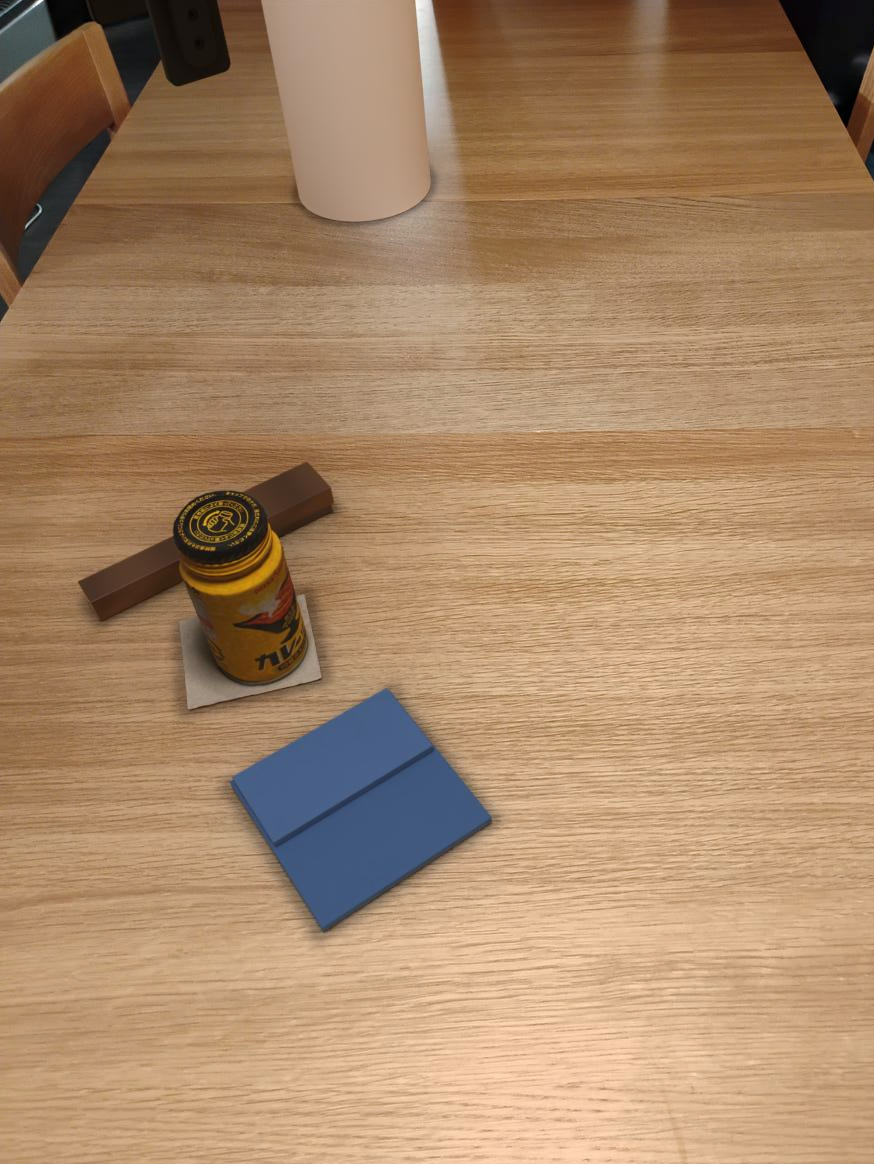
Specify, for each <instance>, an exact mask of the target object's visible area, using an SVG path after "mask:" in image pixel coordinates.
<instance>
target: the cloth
mask: <svg viewBox="0 0 874 1164" xmlns="http://www.w3.org/2000/svg"><path fill="white" fill-rule="evenodd" d="M231 779H232V780H230V781H229V784H230V786H231V788H232V789H233V791H234V792H235V794H236V796H237V798H238V799H239V800H240V802H241V803H242V806H243V807H244V809H245V810H246V812H247V813H248V815H249V817H250V818H251V819H252V821H253V822H254V825H255V826H256V827H257V829H258V830H259V832H260V834H261V835H262V837H263V838H264V840H265V842H266V843H267V845H268V846H269V848H270V850H271V851H272V853H273V855H274V856H275V858H276V859H277V861H278V863H279V864H280V865H281V868H282V869H283V870H284V872H285V873H286V875H287V876H288V879H289V880H290V882H291V883H292V885H293V887H294V888H295V890H296V891H297V893H298V895H300V897H301V899H302V901H303V902H304V904H305V905H306V907H307V909H308V910H309V912H310V913H311V915H312V916H313V918H314V920H315V921H316V923H317V924H318V926H319V927H320V929H321V931H322V932H326V931H328V930H329V929H331V928H332V927H334V926H335V925H338V923H340V922H342V921H343V920H344V919H346V918H348V917H349V916H351V915H352V914H354V913H355V912H356V911H358V910H360V909H361V908H363V907H365V906H367V904H369V903H371V902H373V900H375V899H377V898H378V897H380V896H381V895H382V894H384V893H386V892H388V891H389V890H390V889H392V888H393V887H395V886H397V885H398V884H400V883H402V882H403V881H404V880H405V879H407V878H409V877H410V876H412V875H413V874H415V873H416V872H418V871H419V870H421V869H422V868H424V867H425V866H427V865H428V864H430V863H431V862H433V861H434V860H436V859H438V858H439V857H440V856H442V855H443V854H445V853H446V852H448V851H450V850H452V848H454V847H456V846H457V845H459V844H460V843H462V842H464V841H465V840H467V839H468V838H469V837H471V836H472V835H474V834H476V833H478V832H479V831H480V830H482V829H483V828H485V827H486V826H488V825H489V824H491V823H492V822H493V821H492V820H493V818H492V816H491V814H490V813H489V812H488V811H487V810H486V809H487V808H485V807H484V805H482V803H481V802H480V801H479V800H478V798H477V797H476V796H475V794H474V793H473V792H472V791H471V789H469V787H468V786H467V784H466V783H465V782H464V781H463V780H462V778H461V777H460V776H459V774H457V772H456V771H455V770H454V768H453V767H452V766H451V765H450V764H449V762H448V761H447V759H446V758H445V757H444V756H443V755H442V753H441V752H440V751H439V750H438V749H437V748H436V745H434V744H433V742H432V741H431V740H430V739H429V737H428V736H427V734H426V733H425V732H424V731H423V730H422V729H421V728H420V726H419V725H418V724H417V722H416V721H415V720H414V719H413V718H412V716H411V715H410V714H409V713H408V711H407V710H406V709H405V707H403V705H402V704H401V702H400V701H399V700H398V699H397V698H396V697H395V695H394V694H393V692H392V691H391V690H390V689H388V688H387V687H386V688H383V689H382V690H380V691H379V692H377V693H375V694H373V695H372V696H370V697H368V698H366V699H365V700H363V701H361V702H359V703H357V704H356V705H355V706H353V707H351V708H350V709H348V710H346V711H344V712H342V713H340V714H339V715H337V716H335V717H333V718H332V719H330V720H328V721H326V722H325V723H323V724H321V725H320V726H318V727H316V728H314V729H313V730H311V731H309V732H307V733H306V734H304V735H302V736H301V737H299V738H296V740H294V741H292V742H290V743H288V744H287V745H285V746H283V747H282V748H280V749H278V750H276V751H274V752H273V753H271V754H270V755H267V756H266V757H264V758H263V759H261V760H259V761H257V762H256V763H254V764H252V765H250V766H249V767H247V768H245V769H243V770H242V771H240V772H238V773H237V774H235V775H233V776H232V777H231Z"/></svg>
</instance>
